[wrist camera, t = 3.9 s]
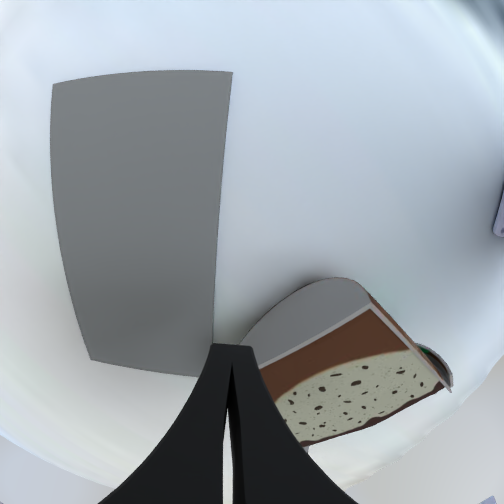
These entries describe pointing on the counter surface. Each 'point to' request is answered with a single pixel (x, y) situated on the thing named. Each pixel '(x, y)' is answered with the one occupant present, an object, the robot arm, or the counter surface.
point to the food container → (340, 361)
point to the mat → (141, 211)
